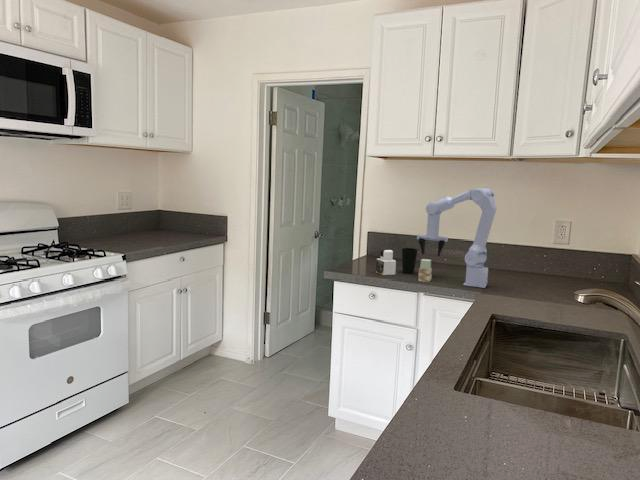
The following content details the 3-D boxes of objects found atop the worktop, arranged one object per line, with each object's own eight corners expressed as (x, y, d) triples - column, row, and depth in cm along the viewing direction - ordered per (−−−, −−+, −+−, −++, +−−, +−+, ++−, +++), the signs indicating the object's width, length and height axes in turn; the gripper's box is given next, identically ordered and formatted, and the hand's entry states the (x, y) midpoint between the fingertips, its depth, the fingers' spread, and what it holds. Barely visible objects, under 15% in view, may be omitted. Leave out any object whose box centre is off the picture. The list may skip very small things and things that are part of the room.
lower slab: (431, 280, 225) (431, 274, 224) (429, 282, 220) (429, 276, 220) (420, 279, 227) (421, 273, 226) (418, 281, 222) (418, 275, 222)
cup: (409, 274, 235) (410, 250, 233) (397, 272, 241) (398, 248, 239) (419, 273, 240) (420, 249, 238) (407, 270, 245) (408, 247, 244)
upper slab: (431, 274, 224) (431, 268, 224) (429, 276, 220) (429, 269, 219) (420, 273, 226) (421, 266, 226) (418, 275, 222) (419, 268, 221)
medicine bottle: (375, 272, 238) (376, 248, 236) (387, 271, 240) (389, 248, 239) (382, 275, 231) (384, 251, 229) (395, 274, 234) (397, 250, 232)
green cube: (430, 268, 224) (431, 259, 223) (428, 269, 220) (429, 261, 220) (422, 267, 225) (422, 258, 225) (420, 268, 222) (420, 260, 221)
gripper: (449, 227, 232) (447, 255, 233) (420, 225, 238) (418, 252, 240) (446, 229, 225) (444, 257, 227) (416, 226, 231) (414, 254, 233)
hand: (430, 254), depth 233 cm, fingers open, 7 cm apart
